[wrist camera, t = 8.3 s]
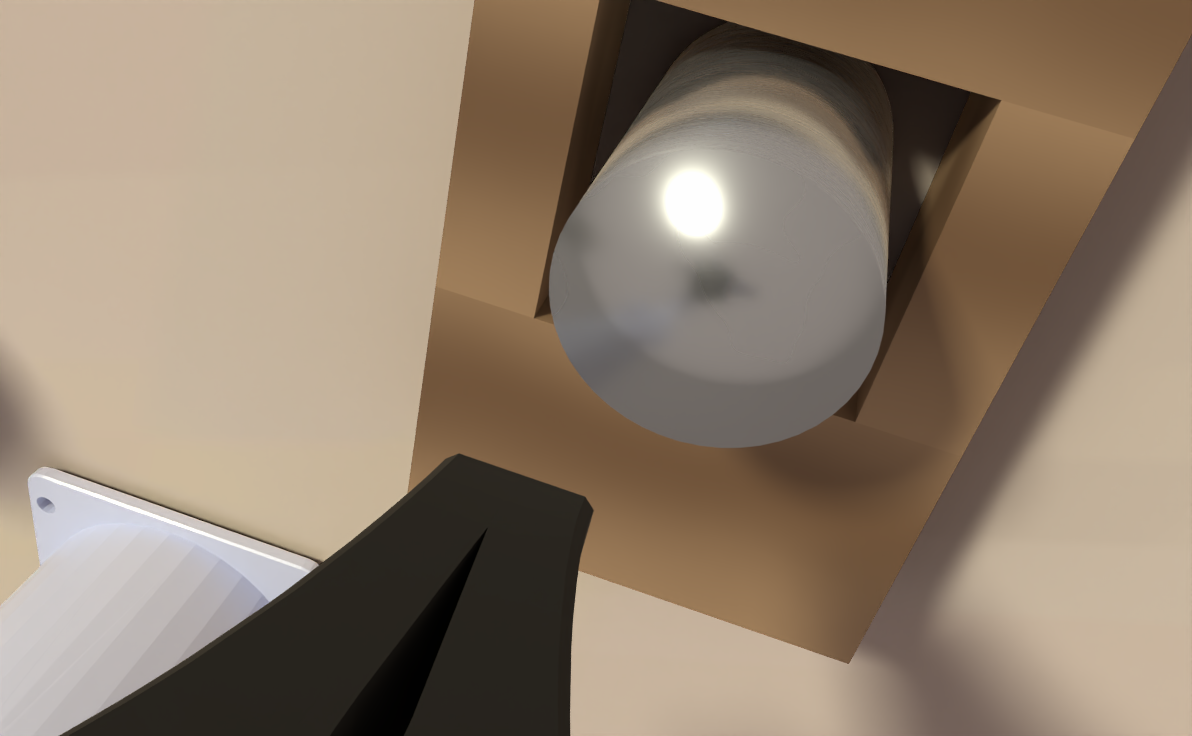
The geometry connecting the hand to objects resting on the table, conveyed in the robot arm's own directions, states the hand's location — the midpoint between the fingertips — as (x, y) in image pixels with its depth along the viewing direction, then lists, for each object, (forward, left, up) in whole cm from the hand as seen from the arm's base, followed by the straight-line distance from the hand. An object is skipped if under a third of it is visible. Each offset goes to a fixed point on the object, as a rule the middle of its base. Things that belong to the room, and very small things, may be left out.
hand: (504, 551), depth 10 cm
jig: (-2, -1, -10) cm, 10 cm away
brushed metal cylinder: (+1, -1, -10) cm, 10 cm away
